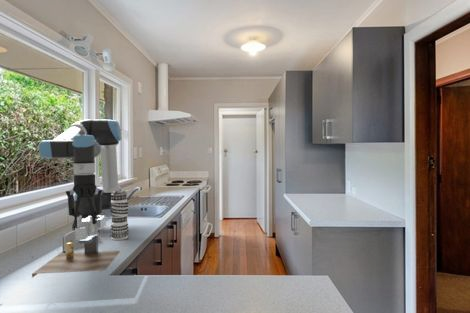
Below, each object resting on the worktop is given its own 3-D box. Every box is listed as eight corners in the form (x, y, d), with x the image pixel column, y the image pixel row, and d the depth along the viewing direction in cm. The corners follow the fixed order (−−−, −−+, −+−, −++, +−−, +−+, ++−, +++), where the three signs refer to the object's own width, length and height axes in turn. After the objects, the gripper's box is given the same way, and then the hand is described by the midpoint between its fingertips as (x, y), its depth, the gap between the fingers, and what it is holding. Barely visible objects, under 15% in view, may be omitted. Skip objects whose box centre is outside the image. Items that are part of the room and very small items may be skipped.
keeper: (86, 255, 124) (86, 234, 124) (98, 254, 125) (97, 234, 125) (78, 262, 116) (78, 240, 116) (91, 262, 117) (90, 240, 117)
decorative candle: (110, 241, 142) (109, 192, 142) (110, 236, 151) (109, 190, 150) (129, 238, 146) (128, 191, 145) (128, 233, 155) (127, 189, 154)
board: (59, 256, 123) (59, 253, 123) (120, 253, 126) (120, 250, 126) (32, 276, 104) (32, 273, 104) (105, 273, 107) (105, 269, 106)
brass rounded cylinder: (68, 259, 120) (67, 242, 119) (75, 259, 120) (74, 241, 120) (64, 262, 117) (64, 244, 116) (71, 261, 117) (71, 244, 117)
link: (89, 225, 123) (89, 212, 123) (106, 225, 124) (105, 211, 124) (70, 240, 105) (69, 224, 104) (89, 239, 106) (89, 223, 105)
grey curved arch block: (65, 254, 126) (62, 232, 127) (62, 255, 129) (59, 233, 130) (103, 244, 138) (99, 224, 140) (99, 245, 141) (96, 225, 143)
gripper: (56, 175, 105) (58, 236, 106) (104, 174, 108) (105, 234, 109) (65, 173, 113) (67, 230, 114) (110, 172, 115) (111, 228, 116)
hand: (86, 232), depth 111 cm, fingers closed on link, 4 cm apart
